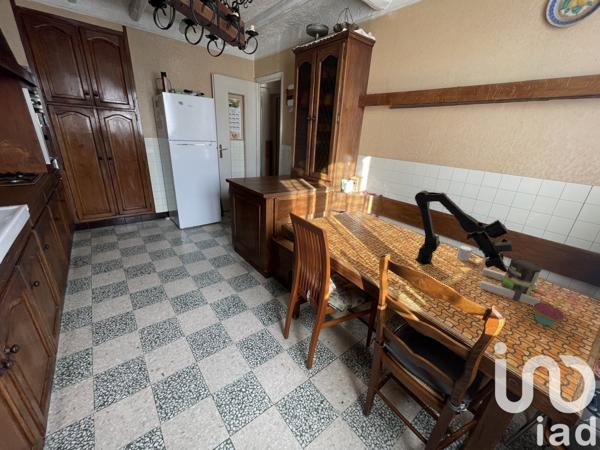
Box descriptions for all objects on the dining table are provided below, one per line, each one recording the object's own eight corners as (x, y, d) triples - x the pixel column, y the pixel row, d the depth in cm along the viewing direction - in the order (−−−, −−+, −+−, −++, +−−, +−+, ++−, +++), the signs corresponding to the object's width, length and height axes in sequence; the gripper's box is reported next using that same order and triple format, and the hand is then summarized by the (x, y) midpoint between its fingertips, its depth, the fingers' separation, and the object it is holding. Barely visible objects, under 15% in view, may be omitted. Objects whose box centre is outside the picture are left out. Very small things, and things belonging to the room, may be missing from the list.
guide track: (479, 288, 112) (481, 280, 110) (482, 272, 125) (484, 265, 123) (537, 307, 100) (541, 299, 99) (534, 288, 113) (537, 281, 112)
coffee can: (513, 297, 106) (525, 269, 101) (495, 283, 115) (505, 257, 110) (536, 298, 106) (549, 270, 101) (516, 284, 116) (527, 258, 111)
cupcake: (550, 317, 95) (564, 291, 91) (564, 333, 87) (579, 306, 83) (524, 311, 98) (535, 286, 93) (535, 326, 90) (548, 299, 86)
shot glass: (471, 262, 134) (475, 251, 132) (458, 261, 136) (461, 249, 133) (466, 256, 141) (469, 246, 138) (453, 255, 142) (456, 244, 139)
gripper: (503, 241, 101) (528, 273, 99) (503, 229, 115) (525, 257, 113) (475, 252, 109) (498, 282, 106) (478, 239, 122) (499, 266, 120)
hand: (506, 271), depth 111 cm, fingers closed, pressing on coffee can
